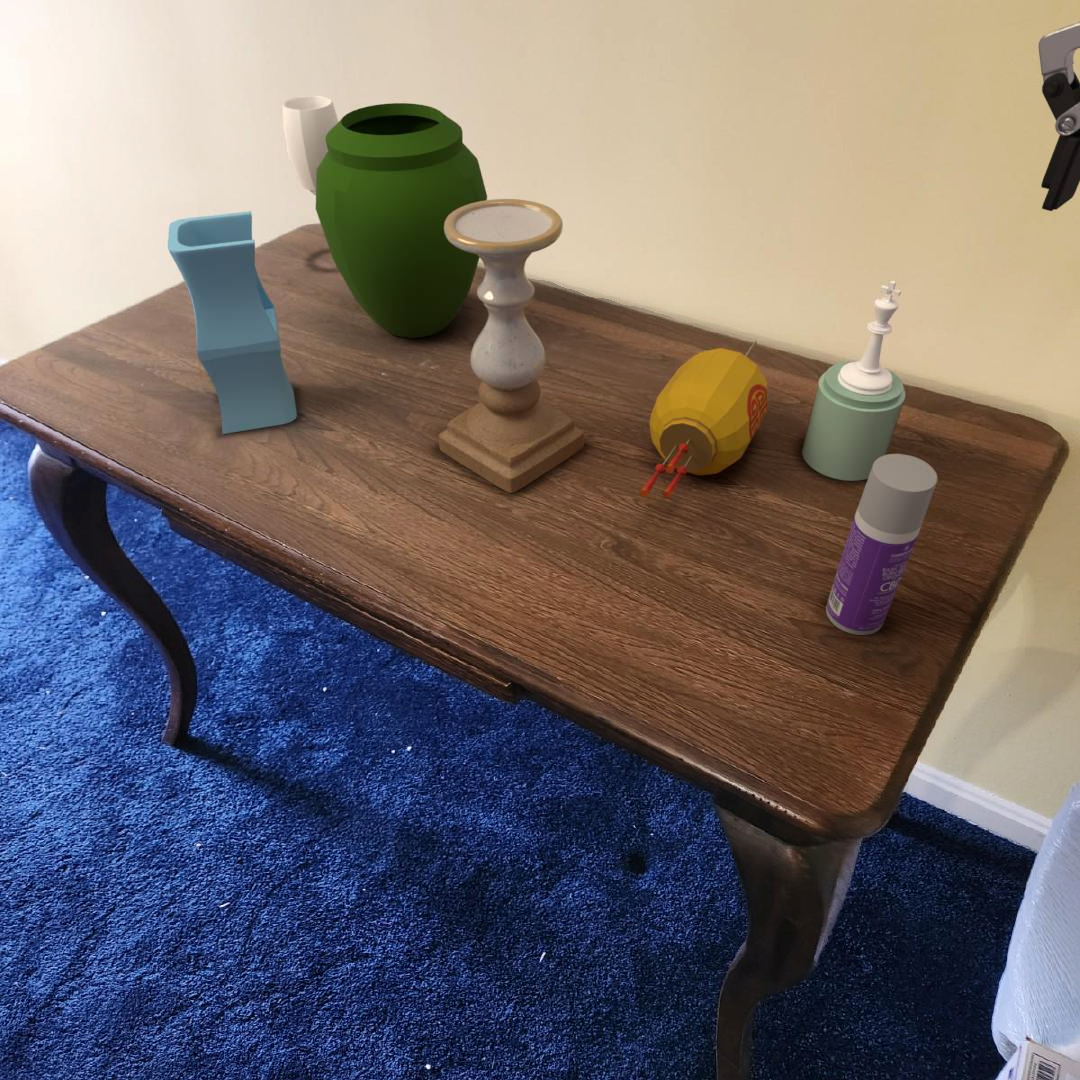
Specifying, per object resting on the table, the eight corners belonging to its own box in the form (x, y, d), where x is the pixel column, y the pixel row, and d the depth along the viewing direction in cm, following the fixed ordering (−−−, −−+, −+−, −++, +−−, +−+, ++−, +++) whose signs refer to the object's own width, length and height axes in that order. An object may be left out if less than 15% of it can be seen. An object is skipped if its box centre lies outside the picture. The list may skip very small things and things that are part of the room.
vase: (331, 299, 114) (294, 100, 97) (475, 280, 118) (463, 86, 101) (346, 374, 100) (306, 157, 84) (509, 350, 104) (501, 138, 87)
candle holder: (511, 495, 83) (501, 260, 67) (437, 449, 89) (411, 221, 73) (586, 446, 89) (594, 219, 73) (512, 406, 95) (504, 186, 79)
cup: (366, 250, 125) (343, 95, 111) (351, 272, 120) (326, 112, 106) (318, 247, 126) (289, 93, 112) (302, 269, 121) (269, 110, 107)
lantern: (700, 452, 70) (797, 298, 90) (594, 443, 75) (708, 299, 95) (712, 548, 76) (801, 384, 96) (613, 534, 81) (717, 381, 100)
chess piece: (877, 401, 79) (908, 300, 72) (828, 382, 81) (853, 283, 75) (900, 379, 82) (931, 280, 75) (851, 362, 84) (878, 264, 77)
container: (871, 644, 69) (926, 501, 59) (816, 618, 71) (860, 476, 61) (892, 610, 72) (948, 468, 62) (838, 586, 74) (884, 444, 64)
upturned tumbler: (855, 428, 91) (877, 353, 85) (898, 473, 86) (925, 396, 79) (787, 441, 90) (805, 365, 84) (826, 487, 84) (848, 410, 78)
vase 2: (298, 422, 93) (255, 242, 79) (222, 434, 91) (166, 253, 78) (292, 384, 98) (251, 210, 85) (221, 395, 97) (168, 220, 83)
